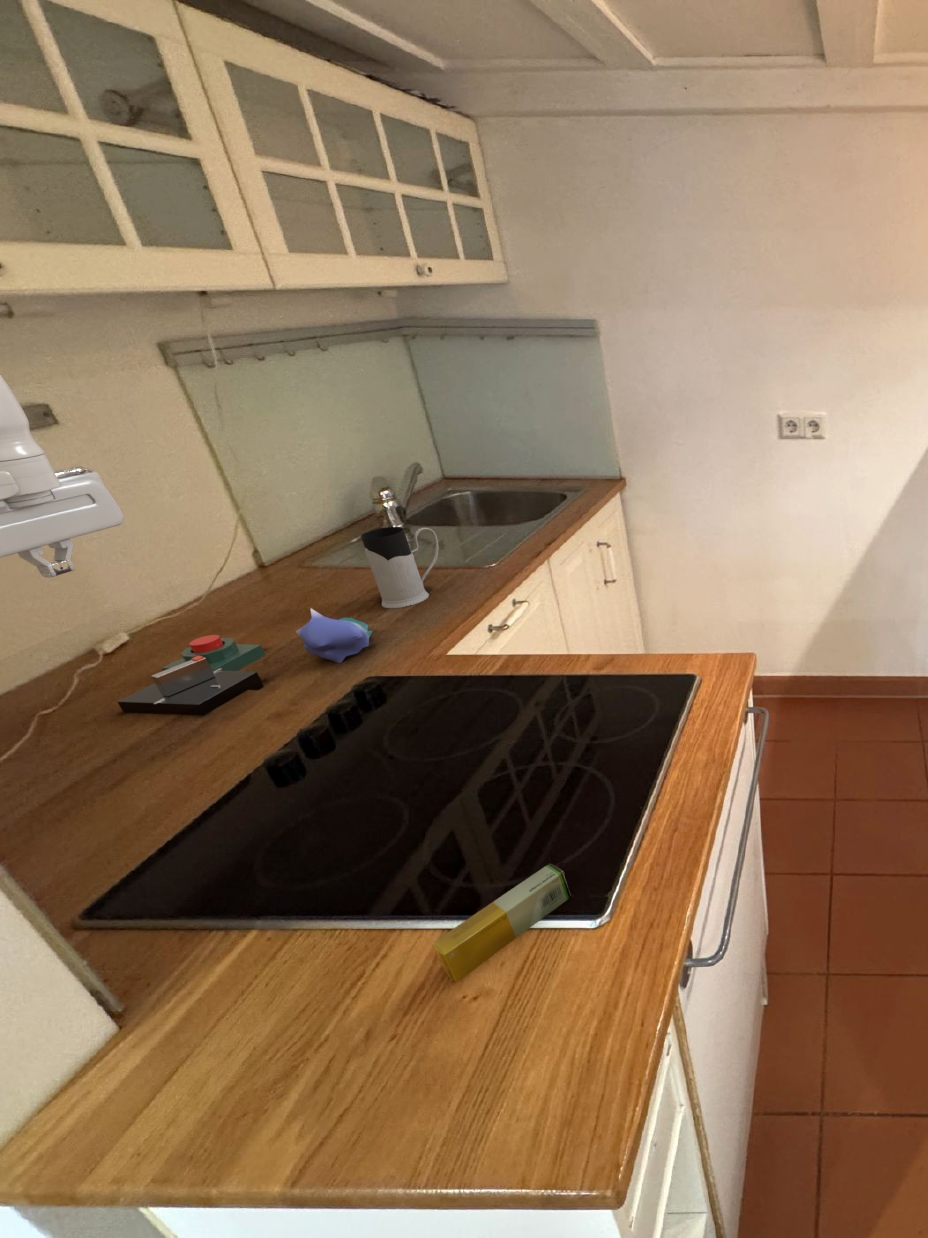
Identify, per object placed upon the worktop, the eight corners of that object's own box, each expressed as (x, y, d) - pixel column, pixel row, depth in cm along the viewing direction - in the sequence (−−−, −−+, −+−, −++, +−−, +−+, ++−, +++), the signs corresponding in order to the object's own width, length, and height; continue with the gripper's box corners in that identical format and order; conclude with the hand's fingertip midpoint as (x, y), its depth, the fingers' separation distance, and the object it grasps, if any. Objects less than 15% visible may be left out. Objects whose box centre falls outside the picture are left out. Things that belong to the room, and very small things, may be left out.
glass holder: (373, 602, 143) (348, 535, 136) (440, 580, 153) (420, 517, 147) (394, 611, 138) (369, 542, 132) (461, 588, 149) (441, 522, 142)
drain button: (187, 654, 116) (182, 645, 115) (209, 643, 119) (205, 634, 119) (208, 654, 115) (203, 645, 115) (229, 643, 119) (225, 634, 118)
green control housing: (167, 679, 115) (156, 658, 114) (216, 654, 124) (207, 634, 122) (219, 680, 114) (208, 660, 113) (265, 655, 122) (256, 635, 121)
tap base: (124, 719, 104) (113, 702, 103) (191, 683, 114) (183, 667, 112) (204, 722, 103) (195, 704, 101) (266, 685, 112) (258, 669, 111)
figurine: (338, 676, 126) (345, 631, 128) (393, 667, 124) (398, 621, 126) (268, 660, 114) (277, 610, 116) (327, 649, 112) (335, 599, 114)
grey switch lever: (167, 696, 104) (156, 675, 102) (161, 695, 104) (149, 674, 103) (215, 676, 109) (205, 656, 108) (209, 675, 110) (199, 654, 108)
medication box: (560, 891, 71) (550, 860, 69) (575, 901, 69) (565, 870, 68) (443, 975, 62) (429, 942, 61) (456, 988, 60) (442, 955, 59)
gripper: (74, 463, 102) (116, 550, 108) (-113, 498, 84) (-49, 600, 89) (111, 463, 101) (152, 551, 107) (-69, 498, 83) (-8, 601, 89)
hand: (59, 573), depth 98 cm, fingers closed
